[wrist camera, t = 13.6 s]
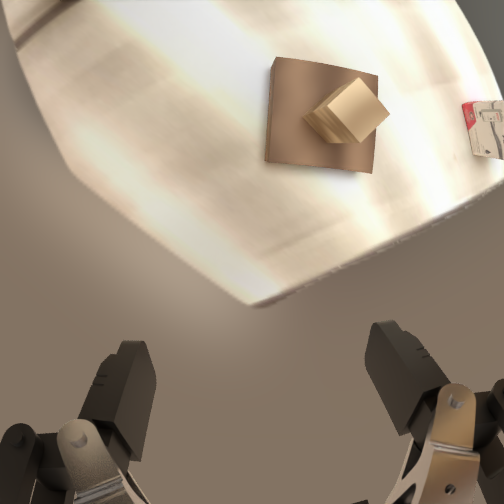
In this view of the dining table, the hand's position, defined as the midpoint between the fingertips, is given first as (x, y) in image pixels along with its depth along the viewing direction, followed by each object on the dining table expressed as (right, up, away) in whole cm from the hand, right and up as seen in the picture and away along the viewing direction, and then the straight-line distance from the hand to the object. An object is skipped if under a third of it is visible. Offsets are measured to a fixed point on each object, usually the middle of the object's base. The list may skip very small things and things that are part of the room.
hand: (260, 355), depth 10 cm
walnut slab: (+8, +20, +24) cm, 32 cm away
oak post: (+8, +18, +19) cm, 27 cm away
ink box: (+35, +23, +24) cm, 49 cm away
